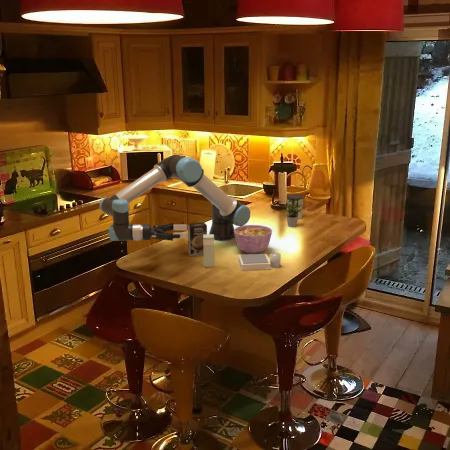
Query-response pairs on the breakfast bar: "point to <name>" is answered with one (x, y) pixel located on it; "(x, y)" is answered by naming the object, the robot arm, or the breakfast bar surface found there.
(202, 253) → the coffee box
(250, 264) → the podium
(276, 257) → the white rounded capsule
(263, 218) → the breakfast bar surface
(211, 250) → the slim carton
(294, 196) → the coffee can
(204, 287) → the breakfast bar surface
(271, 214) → the breakfast bar surface
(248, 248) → the bowl of food
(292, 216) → the house plant
